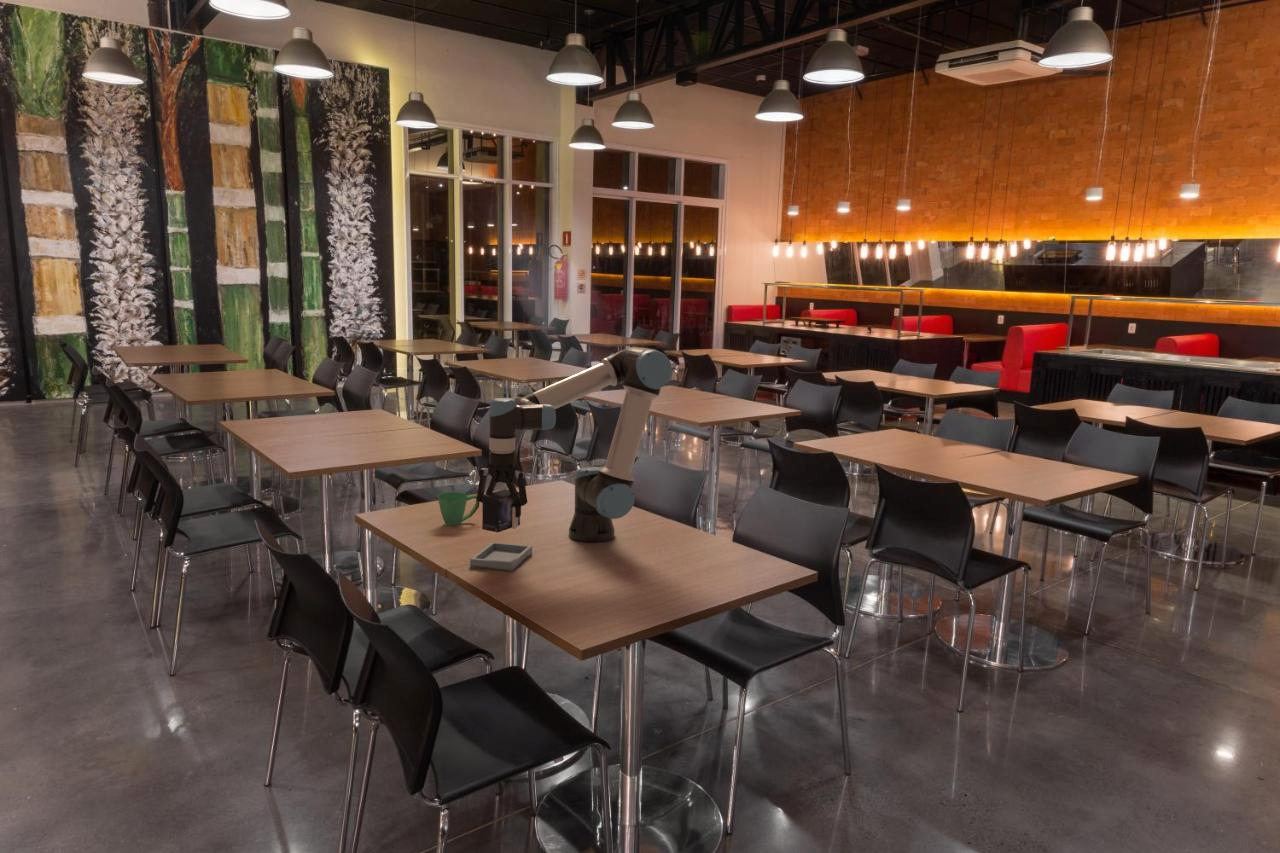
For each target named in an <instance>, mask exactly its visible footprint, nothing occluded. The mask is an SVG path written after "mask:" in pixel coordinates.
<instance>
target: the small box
mask: <svg viewBox="0 0 1280 853" xmlns="http://www.w3.org/2000/svg"><path fill="white" fill-rule="evenodd" d="M517 492H518V495H519V491H517ZM519 498H520V495H519ZM481 506H482V511H481V512H482V513H481V514H482V515H481V516H482V520H481V521H482V526H481V529H482V530H484V531H489V532H492V533H493V532H494V533H500V532H503V531H506V530H509V529H512V507H514V506H515V504H514V502H513V499H512V497H511V494H510V491H509V489H506V488H504V489H500V490H497V491H493V493H490V494H486V493H484V495H482V503H481ZM520 525H521V516H520V517H519V518H518V527H519V526H520Z"/></svg>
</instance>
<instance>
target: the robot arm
mask: <svg viewBox="0 0 1280 853" xmlns="http://www.w3.org/2000/svg"><path fill="white" fill-rule="evenodd" d="M672 372H673V368H672V364H671V361H670V359H669V358H668V356H667V355H666V354H665V353H663V352H661V351H659V350H657V349H653V348H647V347H642V346H630V347H627V348H623V349H622V350H620V351H617V352H615V353H612V354H610V355H608V356H606V357H603V358H602V359H601V361H600V363H598V364H596V365H593V366H592V367H589V368H587V369H586V368H585V370H581V371H579V372H578V373H575V374H573V375H570V376H568V377H566V378H564V379H561V380H559V381H557V382H555V383H552V384H550V385H548V386H546V387H543V388H541V389H539V390H536V391H534V392H532V393H529V394H527V395H524V396H515V397H512V398H510V397H497V398H496V397H495V398H493V399H491V400H490V403H489V412H488V416H489V440H488V441H489V442H488V443H489V446H488V449H489V451H490V452H489V453H488V454H489V460H488V462H489V466H488V468H486V467H482V468H480V469H478V474H479V475H478V476H479V482H478V488H477V494H476V495H477V501H478V502H479V503H481V504H482V495H485V494H490V493H493V492H495V491H494V490H495V488H496V486H497V484H498V483H503V484H505V485H506V487H507V488H508V489H507V490H509V491H510V494H511V497H512V499H513V502H514V504H515V506H514V507H512V528H511V529H512V530H516V529H517V528H518V527H519V526H518V518H519V517H520V518H521V515H522V506H526V505H527V504H528V496H527V489H526V481H525V478H526V471H523V470H521V471H520V470H517V468H516V452H515V450H516V433H517V431H518V432H519V431H539V430H540V431H541V430H542V431H544V430H551V429H553V428H554V427H555V426H556V421H557V414H556V413H557V412H556V409H559V408H560V407H563V406H566V405H567V404H570V403H572V402H574V401H576V400H579V399H581V398H584V397H586V396H588V395H590V394H592V393H594V392H597V391H599V390H602V389H604V388H606V387H608V386H612V387H616V386H619V385H621V384H623V385H622V386H623V389H624V391H625V394H624V399H623V402H622V405H621V408H620V412H619V417H618V420H617V422H616V426H615V428H614V432H613V437H612V440H611V444H610V446H609V447H610V448H609V451H608V455H607V457H606V461H605V465H604V466H589V467H581V468H578V469H577V470H576V471H575V473H574V474H575V476H574V513H573V517H572V520H571V522H570V525H569V527H568V528H569V529H568V536H569V538H570V539H572V540H575V541H578V542H583V543H600V542H601V543H602V542H606V541H609V540H612V539H614V538H615V534H616V533H615V532H616V531H615V526H614V523H613V520H614V519H615V520H616V519H618V520H619V519H621V518H623V517H624V516H627V514H629V512H630V511H631V510H632V509H633V506H634V504H635V494H634V492H633V489H632V488H633V486H634V481H635V478H634V476H633V474H632V472H633V468H634V464H635V461H636V458H637V454H638V451H639V447H640V443H641V440H642V436H643V434H644V430H645V427H646V423H647V419H648V416H649V412H650V409H651V405H652V402H653V401H654V399H656V398H659V396H660V393H661V389H662V388H664V386H666V385H668V383H669V382H670V380H671V377H672V374H673V373H672ZM488 475H490V476H491V479H490V482H489V485H488V487H487V490H486V491H485V489H486V485H487V484H486V483H487V480H488V479H487V478H488V477H487V476H488ZM515 476H516V480H517V487H518V491H517V488H516V485H515V481H514V480H515V479H514V477H515ZM485 492H486V493H485ZM518 492H519V495H520V498H519V495H518Z"/></svg>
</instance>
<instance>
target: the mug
mask: <svg viewBox="0 0 1280 853" xmlns="http://www.w3.org/2000/svg"><path fill="white" fill-rule="evenodd" d="M473 499H474V500H475V503H474V506H473V507H472V509H471V510H470V511H469V512H468V513H467V514H465V511H466V506H467V502H468V501H471V500H473ZM437 501H438V505H439V510H440V514H441V516H442V519H443V521H444V524H445V526H447V527H458V526H459V525H461V524H462V523H463V522H464V521H466V520H467V519H469V518H471V517H472V516H473V515H474V514H475V513H476V512H477V510H478V509H479V507H480V502H478V501H477V494H470V495H468V494H466V493H464V492H457V491H455V492H444V493H440V494H438V496H437Z"/></svg>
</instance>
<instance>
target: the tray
mask: <svg viewBox="0 0 1280 853" xmlns="http://www.w3.org/2000/svg"><path fill="white" fill-rule="evenodd" d="M531 555H533V545H525V544H517V543H516V544H515V543H506V542H499V541H497V542H496V541H492V542H491V543H489V544H488V545H487V546H485V547H484V548H482V550H480V551H479V552H477V553H476V554H475V555H474V556H472V557H471V558H470V560H469V565H470V566H469V567H470V568H474V569H483V570H484V569H485V570H493V571H494V570H495V571H503V572H504V571H505V572H511V573H512V572H514V571H515V570H516V569H517V568H518V567H519V566H520V565H522V564H523V563H524V562H525V561H527V559H528V558H529V557H530V556H531Z"/></svg>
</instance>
